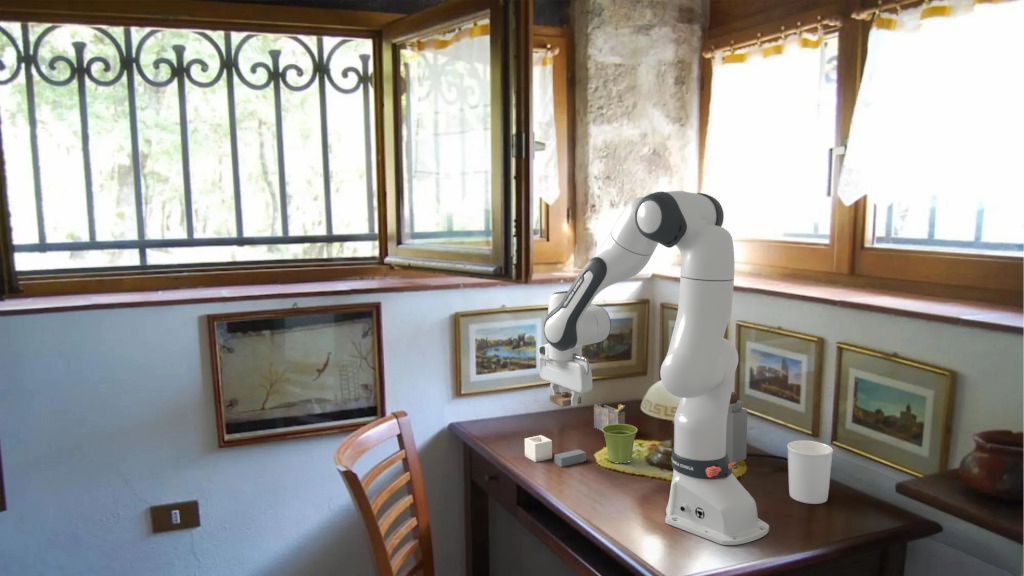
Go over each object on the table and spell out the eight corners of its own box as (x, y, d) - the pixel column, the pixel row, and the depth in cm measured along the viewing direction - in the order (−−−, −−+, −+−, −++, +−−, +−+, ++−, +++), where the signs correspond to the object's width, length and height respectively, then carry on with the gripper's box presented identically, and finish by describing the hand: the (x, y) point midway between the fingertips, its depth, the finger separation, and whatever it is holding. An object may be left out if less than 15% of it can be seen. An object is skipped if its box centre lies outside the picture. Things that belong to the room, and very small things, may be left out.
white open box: (552, 458, 197) (551, 440, 197) (535, 462, 195) (535, 444, 194) (541, 452, 202) (541, 435, 201) (524, 456, 199) (524, 438, 199)
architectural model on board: (625, 436, 216) (626, 405, 214) (618, 438, 214) (618, 406, 213) (601, 427, 225) (601, 396, 224) (593, 428, 223) (593, 398, 222)
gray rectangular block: (585, 461, 195) (585, 452, 194) (561, 467, 191) (561, 458, 190) (578, 457, 197) (578, 449, 197) (554, 463, 193) (554, 454, 193)
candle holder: (776, 493, 171) (777, 443, 170) (808, 486, 175) (809, 437, 174) (808, 508, 162) (810, 457, 161) (840, 500, 166) (842, 450, 165)
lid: (581, 403, 192) (581, 393, 192) (562, 406, 189) (562, 397, 188) (568, 398, 197) (568, 388, 197) (549, 401, 194) (549, 392, 194)
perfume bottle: (732, 464, 190) (733, 397, 188) (710, 458, 195) (711, 393, 193) (746, 458, 195) (747, 393, 192) (724, 452, 200) (725, 388, 197)
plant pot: (627, 469, 188) (627, 436, 187) (595, 461, 194) (595, 430, 193) (643, 458, 196) (643, 427, 195) (612, 452, 201) (612, 421, 200)
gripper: (598, 356, 184) (598, 409, 186) (553, 343, 201) (553, 392, 203) (578, 359, 181) (578, 413, 182) (534, 346, 198) (534, 395, 200)
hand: (565, 402), depth 193 cm, fingers closed on lid, 6 cm apart
